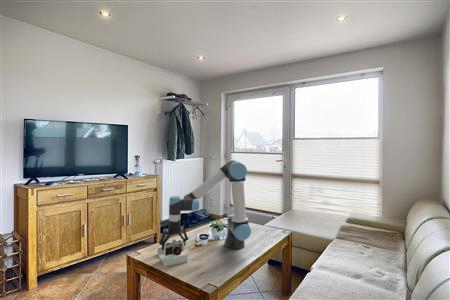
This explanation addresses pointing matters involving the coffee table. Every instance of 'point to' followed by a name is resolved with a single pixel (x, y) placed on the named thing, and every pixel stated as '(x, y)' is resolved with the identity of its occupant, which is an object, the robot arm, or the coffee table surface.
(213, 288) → the coffee table surface
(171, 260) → the u cradle
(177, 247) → the camera
